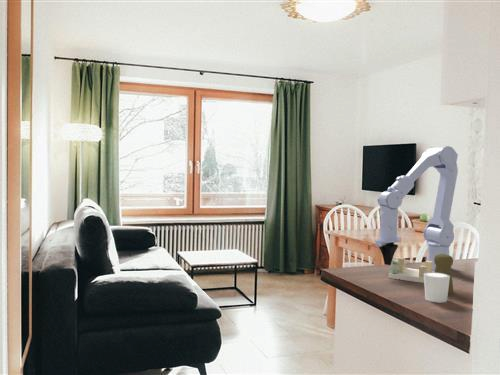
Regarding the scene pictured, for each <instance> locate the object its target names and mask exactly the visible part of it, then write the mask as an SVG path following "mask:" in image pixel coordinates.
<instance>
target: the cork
mask: <svg viewBox="0 0 500 375" xmlns="http://www.w3.org/2000/svg"><path fill="white" fill-rule="evenodd" d="M434 262H435V264H436V268H435V271H434V272H436V273H443V274H447V275H449V276H450V280H449V288H448V295H453V294H454V286H453V285H454V284H453V282H454V281H453V274H452V268H451V267H452V266H453V264H454V259H453V257H452V256H451V255H450V254H449V255H446V254H438V255H436V256H435V258H434Z"/></svg>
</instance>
